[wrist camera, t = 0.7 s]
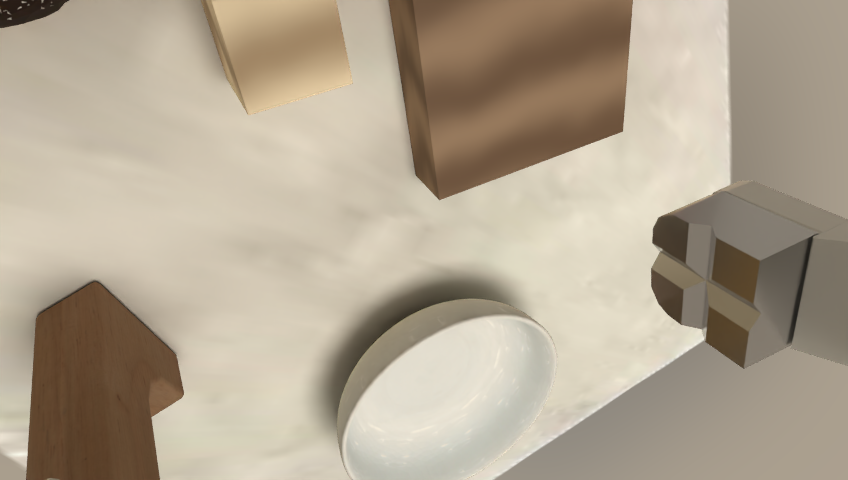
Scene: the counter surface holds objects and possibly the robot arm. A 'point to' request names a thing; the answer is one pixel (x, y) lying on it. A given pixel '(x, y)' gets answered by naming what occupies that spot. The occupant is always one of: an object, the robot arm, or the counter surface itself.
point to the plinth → (507, 82)
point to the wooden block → (97, 391)
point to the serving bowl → (445, 392)
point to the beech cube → (279, 49)
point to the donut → (26, 10)
